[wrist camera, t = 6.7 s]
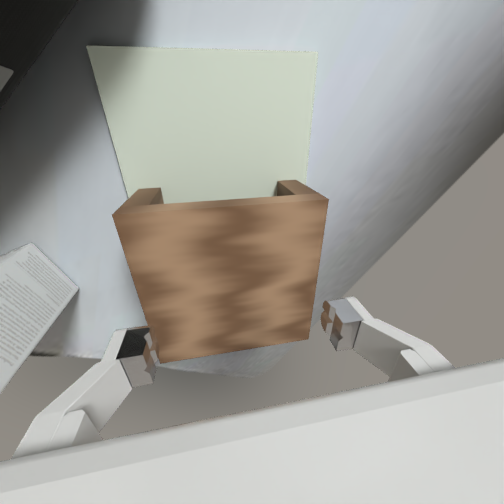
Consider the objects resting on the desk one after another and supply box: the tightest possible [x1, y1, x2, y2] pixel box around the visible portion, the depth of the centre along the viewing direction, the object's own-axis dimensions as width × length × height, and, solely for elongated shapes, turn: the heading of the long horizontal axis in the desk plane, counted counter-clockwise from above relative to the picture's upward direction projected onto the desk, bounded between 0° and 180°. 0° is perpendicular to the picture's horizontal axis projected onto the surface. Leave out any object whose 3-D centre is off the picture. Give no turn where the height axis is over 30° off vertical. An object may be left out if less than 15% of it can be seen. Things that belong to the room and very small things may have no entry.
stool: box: [112, 180, 329, 364], centre depth 21 cm, size 14×7×14 cm
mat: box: [86, 45, 318, 204], centre depth 23 cm, size 16×26×1 cm, turn 1°
